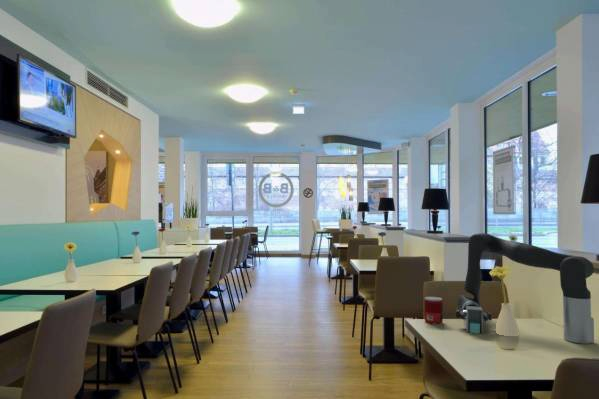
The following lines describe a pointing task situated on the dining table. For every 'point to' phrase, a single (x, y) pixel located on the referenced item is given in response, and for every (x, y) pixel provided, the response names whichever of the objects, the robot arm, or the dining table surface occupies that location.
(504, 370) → the dining table surface
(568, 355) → the dining table surface
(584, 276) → the robot arm
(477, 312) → the tall grey pillar block
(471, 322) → the teal block
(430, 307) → the canned food
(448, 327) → the dining table surface
